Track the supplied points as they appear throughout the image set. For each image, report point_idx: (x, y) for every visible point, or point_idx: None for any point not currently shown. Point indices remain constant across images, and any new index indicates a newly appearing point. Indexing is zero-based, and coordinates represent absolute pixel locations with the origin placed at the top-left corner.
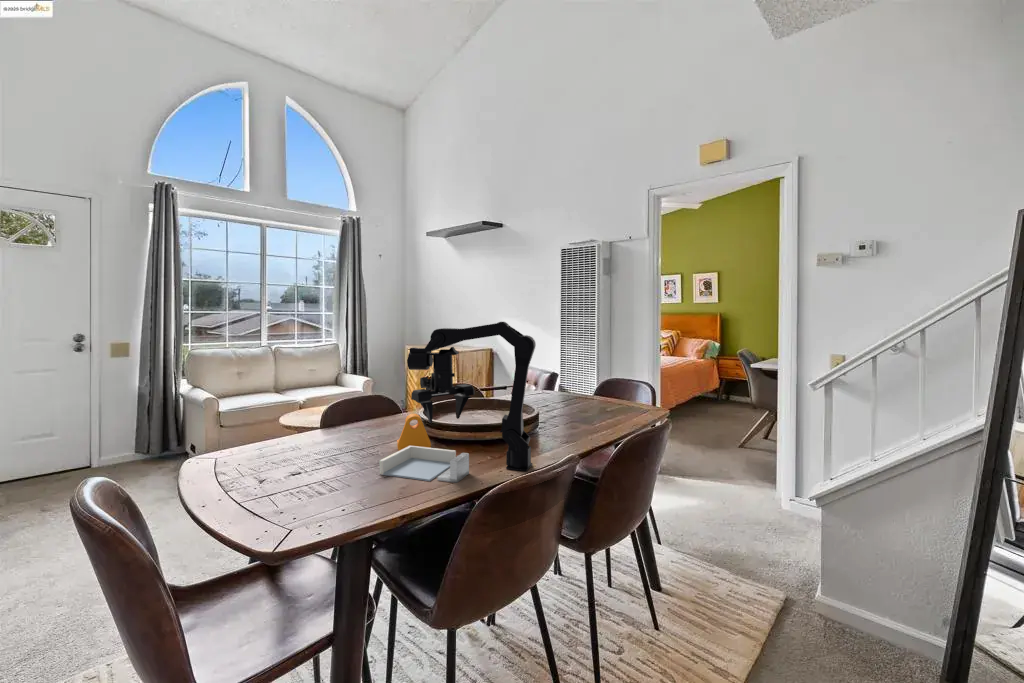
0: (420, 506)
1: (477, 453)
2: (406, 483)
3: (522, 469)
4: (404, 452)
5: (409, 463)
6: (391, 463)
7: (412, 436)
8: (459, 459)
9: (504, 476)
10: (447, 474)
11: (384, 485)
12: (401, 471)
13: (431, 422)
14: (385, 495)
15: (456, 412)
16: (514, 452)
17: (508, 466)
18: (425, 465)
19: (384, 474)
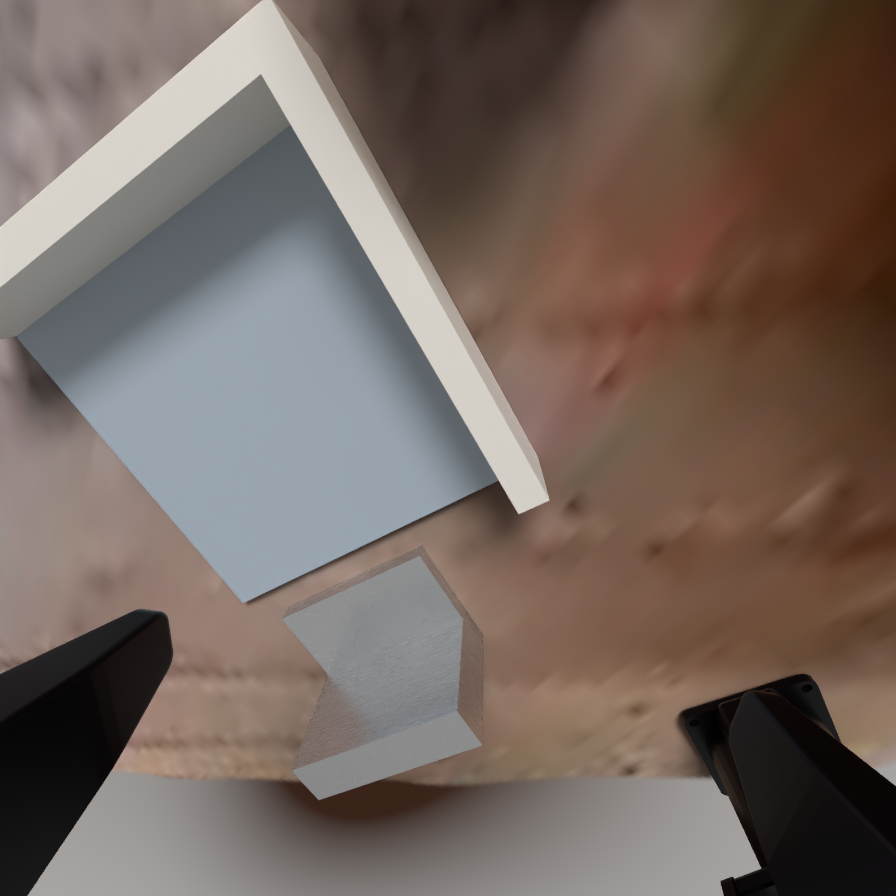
0: (120, 760)
1: (841, 366)
2: (130, 546)
3: (716, 783)
4: (172, 162)
5: (237, 262)
6: (52, 284)
7: None
8: (354, 787)
9: (590, 760)
10: (347, 624)
11: (15, 498)
12: (135, 390)
13: (154, 676)
14: (6, 605)
15: (830, 828)
16: (755, 850)
17: (705, 720)
18: (322, 387)
19: (31, 345)
